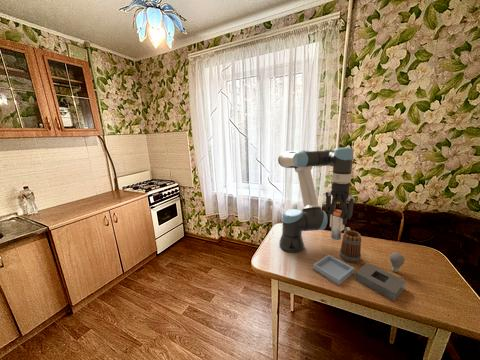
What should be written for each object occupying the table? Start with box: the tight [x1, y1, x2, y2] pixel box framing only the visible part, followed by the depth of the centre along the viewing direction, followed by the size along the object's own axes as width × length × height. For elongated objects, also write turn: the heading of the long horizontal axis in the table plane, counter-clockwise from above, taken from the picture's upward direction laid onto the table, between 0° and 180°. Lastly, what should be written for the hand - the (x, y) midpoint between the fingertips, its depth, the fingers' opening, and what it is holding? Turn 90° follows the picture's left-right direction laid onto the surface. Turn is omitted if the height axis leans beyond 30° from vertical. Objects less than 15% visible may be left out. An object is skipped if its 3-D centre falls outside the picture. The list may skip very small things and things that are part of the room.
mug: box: [339, 226, 362, 264], centre depth 113 cm, size 16×11×15 cm
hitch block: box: [354, 262, 407, 302], centre depth 92 cm, size 16×12×4 cm
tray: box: [312, 254, 355, 286], centre depth 101 cm, size 14×14×3 cm
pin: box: [330, 209, 343, 241], centre depth 95 cm, size 4×4×14 cm
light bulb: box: [389, 252, 406, 273], centre depth 99 cm, size 6×6×10 cm
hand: (336, 227), depth 96 cm, fingers closed on pin, 4 cm apart
